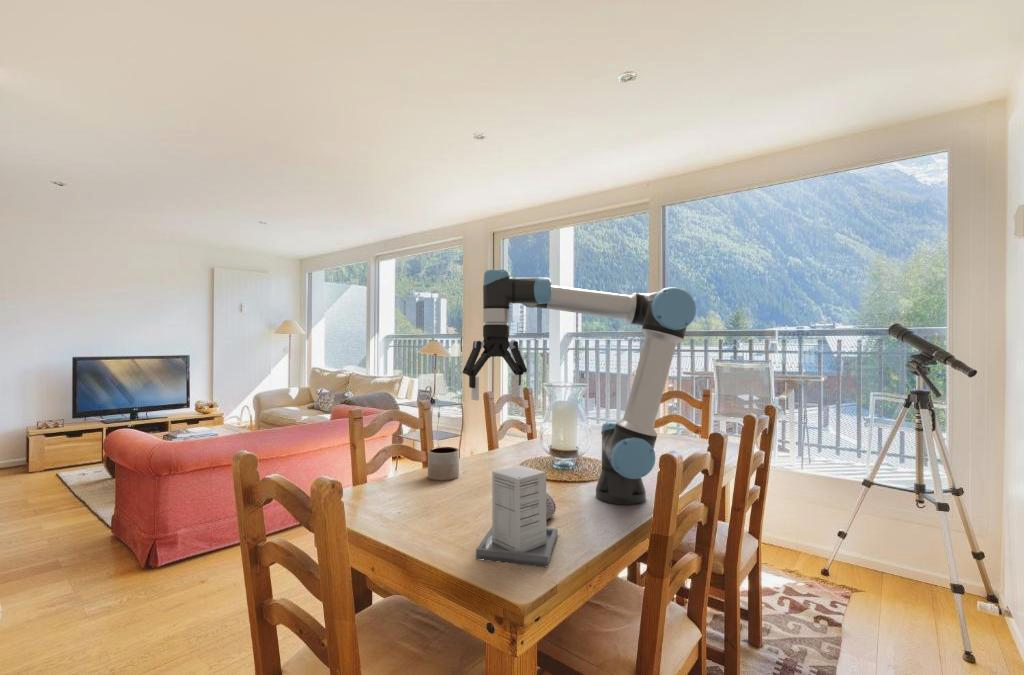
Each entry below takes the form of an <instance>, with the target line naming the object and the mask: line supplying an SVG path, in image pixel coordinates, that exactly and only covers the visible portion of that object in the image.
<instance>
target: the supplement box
mask: <svg viewBox="0 0 1024 675" xmlns="http://www.w3.org/2000/svg"><path fill="white" fill-rule="evenodd" d="M491 481H492V484H491V485H492V494H491V495H492V498H491V499H492V513H491V516H492V518H491V519H492V522H491V523H492V524H491V525H492V526H491V527H492V542H493V543H494V544H497V545H499V546H501V547H503V548H505V549H507V550H509V551H516V552H527V551H529V550H532V549H535V548H537V547H540V546H543V545H545V544H546V528H547V520H546V493H547V472H546V471H543V470H538V469H535V468H531V467H528V466H524V465H516V466H511V467H506V468H502V469H498V470H495V471H492V480H491Z"/></svg>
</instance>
